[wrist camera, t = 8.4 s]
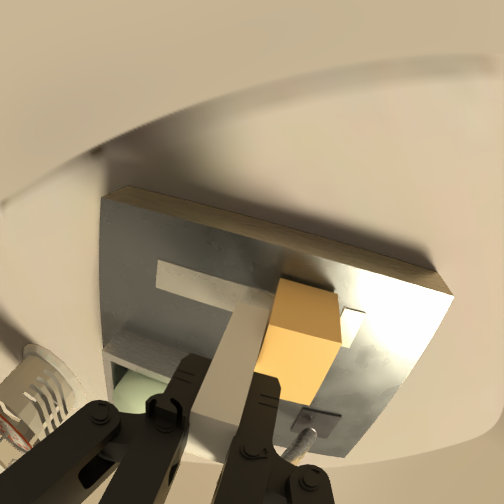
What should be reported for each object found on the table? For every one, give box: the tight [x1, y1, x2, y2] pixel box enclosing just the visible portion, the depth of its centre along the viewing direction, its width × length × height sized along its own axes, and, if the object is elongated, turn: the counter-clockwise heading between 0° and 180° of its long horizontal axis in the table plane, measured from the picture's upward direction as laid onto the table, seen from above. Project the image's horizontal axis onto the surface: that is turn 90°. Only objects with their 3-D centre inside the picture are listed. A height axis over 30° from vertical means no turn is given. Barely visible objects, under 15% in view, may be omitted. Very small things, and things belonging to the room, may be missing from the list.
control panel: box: [99, 186, 454, 458], centre depth 19 cm, size 20×16×6 cm
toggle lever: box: [280, 428, 317, 466], centre depth 16 cm, size 2×2×10 cm
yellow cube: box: [254, 278, 342, 406], centre depth 15 cm, size 3×4×4 cm
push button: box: [112, 369, 168, 414], centre depth 19 cm, size 5×5×3 cm
